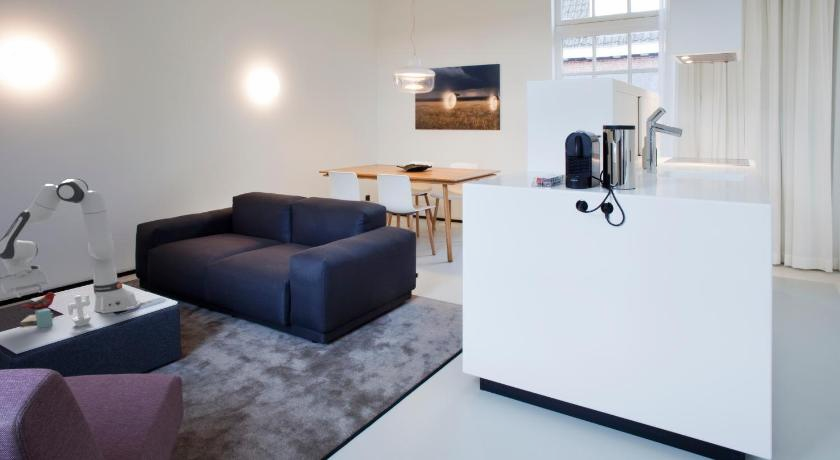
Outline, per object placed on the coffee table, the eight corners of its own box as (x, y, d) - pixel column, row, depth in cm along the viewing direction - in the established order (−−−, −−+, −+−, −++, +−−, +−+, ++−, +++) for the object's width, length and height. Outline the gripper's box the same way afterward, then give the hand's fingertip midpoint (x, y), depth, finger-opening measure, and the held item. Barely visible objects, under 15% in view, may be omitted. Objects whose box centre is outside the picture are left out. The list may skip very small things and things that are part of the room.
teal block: (48, 323, 284) (46, 307, 283) (52, 324, 281) (50, 309, 280) (37, 326, 280) (34, 310, 279) (41, 327, 277) (39, 312, 276)
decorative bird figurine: (59, 309, 306) (56, 291, 304) (20, 317, 294) (17, 299, 292) (57, 308, 308) (55, 290, 306) (19, 316, 296) (15, 298, 294)
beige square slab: (53, 316, 294) (53, 312, 294) (45, 323, 284) (45, 319, 283) (30, 318, 292) (29, 315, 291) (20, 325, 281) (20, 322, 281)
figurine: (69, 325, 279) (64, 296, 277) (90, 320, 286) (86, 292, 283) (72, 328, 274) (68, 299, 272) (94, 323, 281) (90, 294, 278)
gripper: (-4, 274, 279) (7, 296, 275) (43, 265, 295) (53, 285, 291) (-5, 281, 282) (5, 303, 278) (40, 272, 299) (51, 292, 295)
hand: (30, 294), depth 285 cm, fingers open, 8 cm apart
